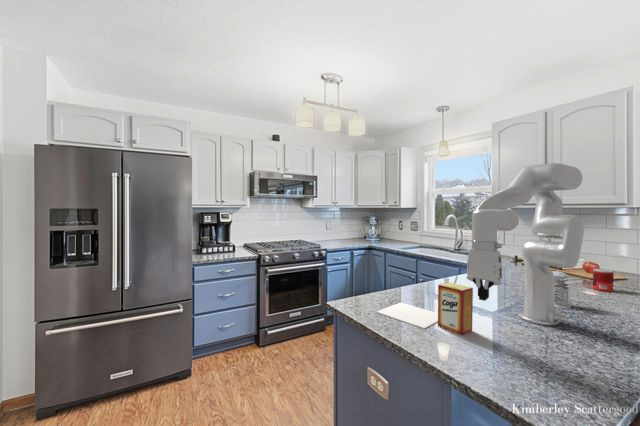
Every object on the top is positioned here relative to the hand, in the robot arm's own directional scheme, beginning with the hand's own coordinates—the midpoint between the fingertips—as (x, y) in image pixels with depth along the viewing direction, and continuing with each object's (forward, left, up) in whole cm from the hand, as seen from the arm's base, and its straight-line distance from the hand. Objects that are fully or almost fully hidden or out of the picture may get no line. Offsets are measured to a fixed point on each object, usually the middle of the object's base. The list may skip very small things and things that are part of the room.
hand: (483, 299), depth 100 cm
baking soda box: (+10, 0, -13) cm, 16 cm away
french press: (-8, -63, -13) cm, 65 cm away
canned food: (-20, -111, -13) cm, 114 cm away
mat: (+28, 0, -13) cm, 31 cm away
